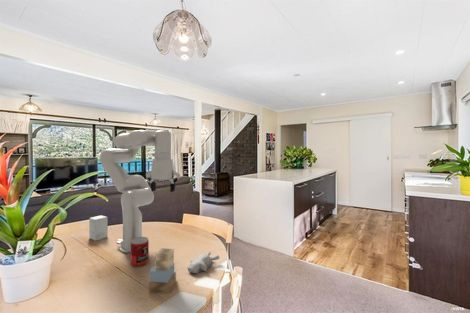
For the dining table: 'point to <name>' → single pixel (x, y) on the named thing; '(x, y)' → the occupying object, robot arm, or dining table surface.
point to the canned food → (139, 251)
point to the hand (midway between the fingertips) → (162, 191)
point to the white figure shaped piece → (201, 263)
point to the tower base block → (162, 285)
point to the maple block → (164, 259)
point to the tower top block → (161, 274)
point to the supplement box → (98, 227)
